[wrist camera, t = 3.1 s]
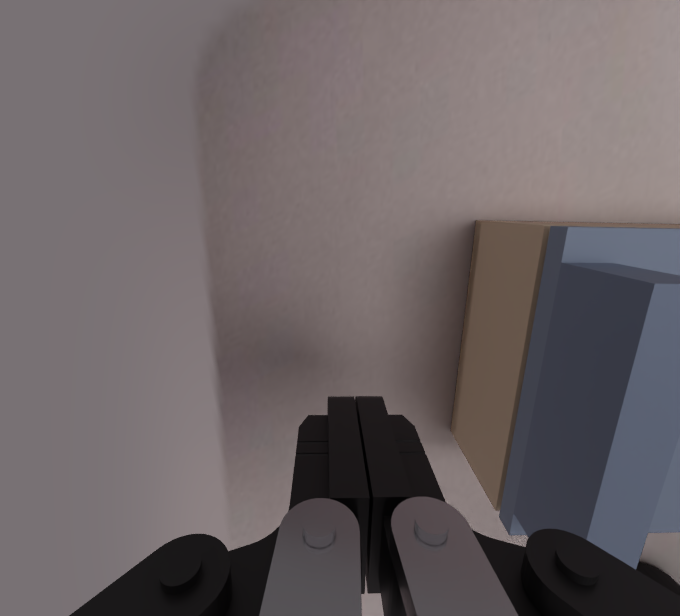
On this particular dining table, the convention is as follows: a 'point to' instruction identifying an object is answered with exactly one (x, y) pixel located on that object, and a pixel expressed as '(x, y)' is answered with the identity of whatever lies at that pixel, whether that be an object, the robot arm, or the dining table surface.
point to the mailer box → (500, 341)
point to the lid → (601, 392)
